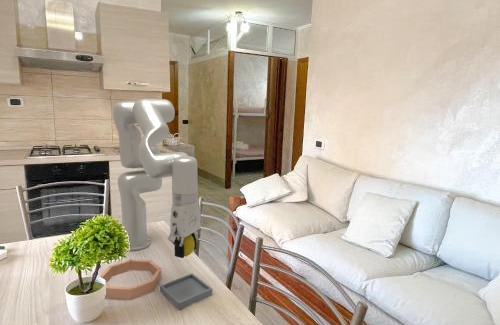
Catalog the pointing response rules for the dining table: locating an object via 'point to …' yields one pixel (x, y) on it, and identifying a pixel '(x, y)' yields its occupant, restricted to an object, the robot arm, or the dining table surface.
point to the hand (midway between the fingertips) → (185, 252)
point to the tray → (185, 291)
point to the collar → (136, 290)
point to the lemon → (188, 245)
